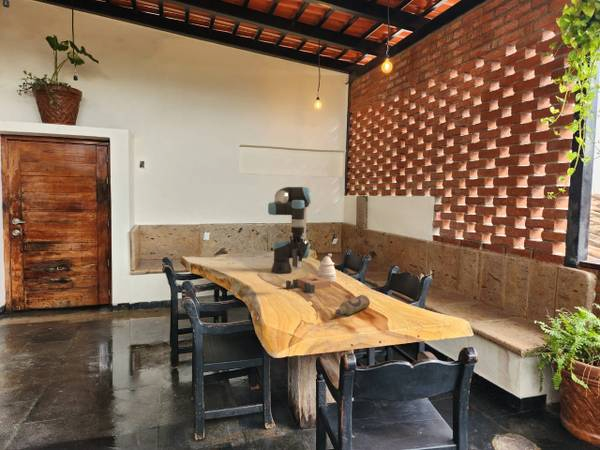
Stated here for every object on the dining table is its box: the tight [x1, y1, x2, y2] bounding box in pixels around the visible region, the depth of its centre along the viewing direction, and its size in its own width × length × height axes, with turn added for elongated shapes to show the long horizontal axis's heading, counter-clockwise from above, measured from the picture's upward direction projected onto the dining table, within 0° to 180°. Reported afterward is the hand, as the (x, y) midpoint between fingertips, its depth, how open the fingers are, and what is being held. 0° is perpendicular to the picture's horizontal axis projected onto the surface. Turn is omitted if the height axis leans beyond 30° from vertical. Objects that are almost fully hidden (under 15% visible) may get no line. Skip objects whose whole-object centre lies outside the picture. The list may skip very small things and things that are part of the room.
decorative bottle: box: [334, 294, 371, 316], centre depth 187 cm, size 8×26×7 cm, turn 139°
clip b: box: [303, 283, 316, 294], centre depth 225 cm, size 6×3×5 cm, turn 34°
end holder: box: [295, 275, 332, 290], centre depth 241 cm, size 16×16×4 cm
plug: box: [291, 249, 302, 271], centre depth 222 cm, size 4×4×12 cm
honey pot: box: [316, 253, 337, 283], centre depth 258 cm, size 13×13×18 cm
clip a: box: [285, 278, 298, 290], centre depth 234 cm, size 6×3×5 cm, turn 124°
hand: (297, 265), depth 222 cm, fingers closed on plug, 4 cm apart
